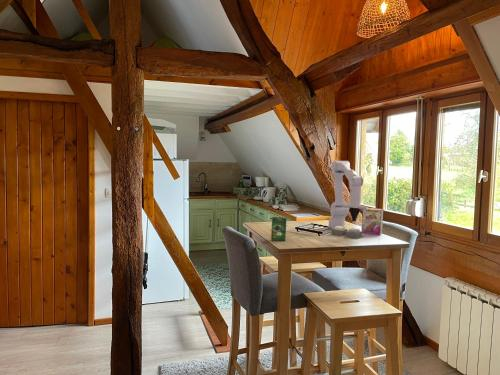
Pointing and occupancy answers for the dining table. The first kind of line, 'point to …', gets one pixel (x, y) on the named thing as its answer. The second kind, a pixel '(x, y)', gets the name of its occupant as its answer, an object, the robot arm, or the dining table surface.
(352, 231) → the light gray key
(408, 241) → the dining table surface
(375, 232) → the candy bar box
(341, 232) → the key panel
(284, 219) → the coffee box
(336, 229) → the cream key
